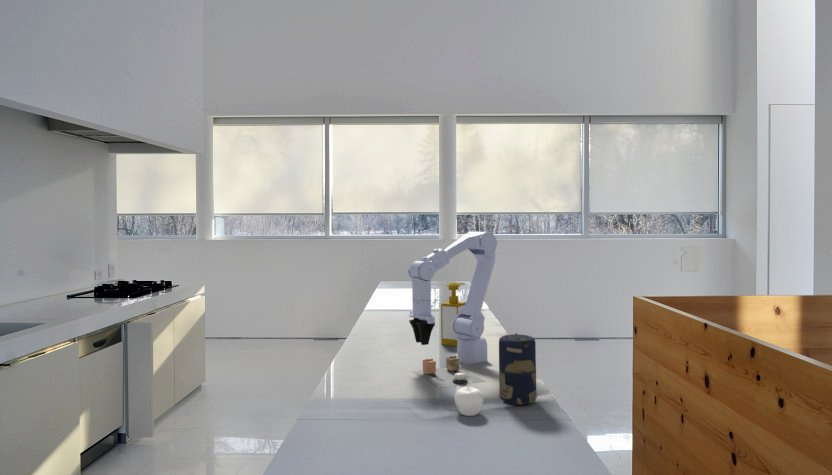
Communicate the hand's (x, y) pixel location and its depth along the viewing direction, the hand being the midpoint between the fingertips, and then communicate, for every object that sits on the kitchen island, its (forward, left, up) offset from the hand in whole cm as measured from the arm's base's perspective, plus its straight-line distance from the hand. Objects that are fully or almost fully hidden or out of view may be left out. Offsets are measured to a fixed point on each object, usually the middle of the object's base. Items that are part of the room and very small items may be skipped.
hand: (422, 343), depth 183 cm
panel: (-3, +10, -9) cm, 15 cm away
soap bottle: (-31, -37, -10) cm, 49 cm away
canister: (-11, +36, -10) cm, 39 cm away
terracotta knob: (0, +5, -8) cm, 10 cm away
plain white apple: (+5, +39, -10) cm, 41 cm away
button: (-4, +17, -8) cm, 20 cm away
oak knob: (-8, +5, -8) cm, 12 cm away
